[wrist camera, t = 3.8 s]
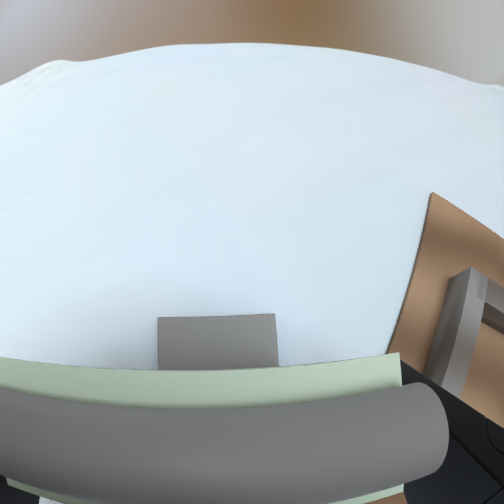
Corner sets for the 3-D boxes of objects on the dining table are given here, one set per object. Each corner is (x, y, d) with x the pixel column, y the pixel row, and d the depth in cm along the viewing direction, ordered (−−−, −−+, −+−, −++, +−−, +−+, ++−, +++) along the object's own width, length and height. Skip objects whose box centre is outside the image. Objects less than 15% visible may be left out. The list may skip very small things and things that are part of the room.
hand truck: (297, 432, 14) (478, 567, 2) (150, 437, 13) (-39, 557, 1) (289, 315, 16) (444, 145, 4) (145, 320, 15) (-47, 173, 3)
